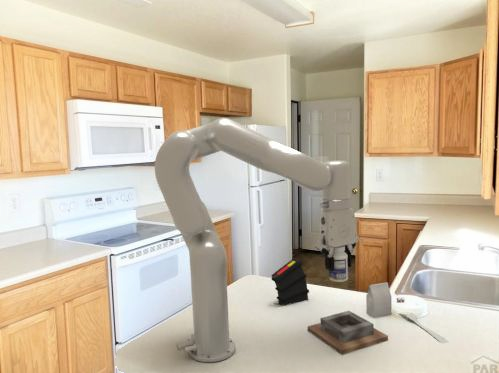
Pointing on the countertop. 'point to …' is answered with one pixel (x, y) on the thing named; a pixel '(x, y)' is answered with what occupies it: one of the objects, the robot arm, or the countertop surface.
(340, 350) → the mount
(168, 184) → the robot arm
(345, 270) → the pill bottle
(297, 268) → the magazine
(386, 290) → the grey upright pouch
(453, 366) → the countertop surface
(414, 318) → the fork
